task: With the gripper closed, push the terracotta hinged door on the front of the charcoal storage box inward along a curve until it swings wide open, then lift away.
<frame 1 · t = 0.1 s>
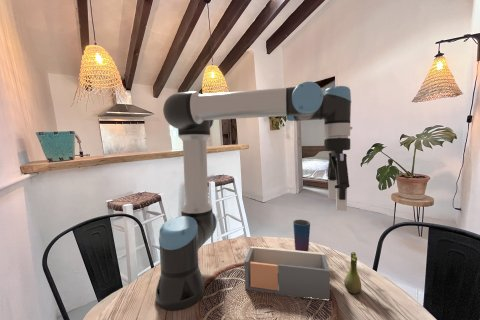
hand: (336, 204, 68), 28 cm above the table, tool pointing down, fingers open, 13 cm apart
box door: (264, 275, 69), point 5 cm above the table, hinge at 0.0°
storage box: (285, 284, 72), on the table
cup: (301, 257, 90), on the table
fennel bulb: (352, 290, 69), on the table
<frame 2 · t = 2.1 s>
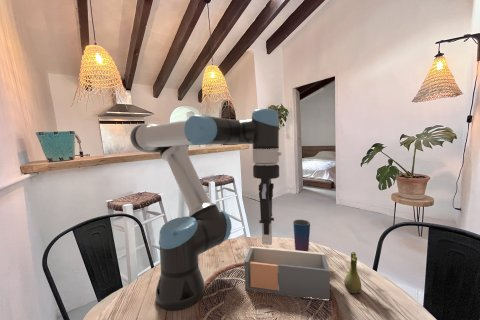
hand: (267, 243, 63), 18 cm above the table, tool pointing down, fingers closed
nothing on the table moved.
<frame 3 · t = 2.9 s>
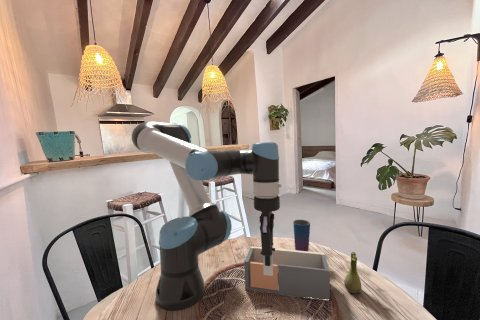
hand: (268, 273, 63), 9 cm above the table, tool pointing down, fingers closed
nothing on the table moved.
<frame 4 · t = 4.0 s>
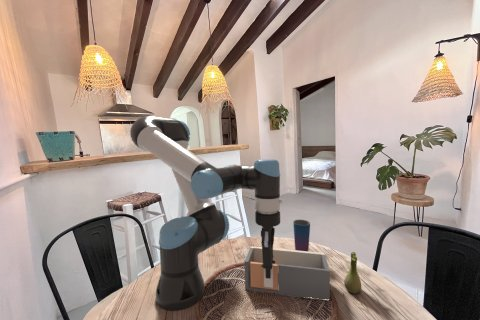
hand: (268, 285, 65), 4 cm above the table, tool pointing down, fingers closed
box door: (264, 275, 69), point 5 cm above the table, hinge at 1.1°, touching gripper
everything else where it was.
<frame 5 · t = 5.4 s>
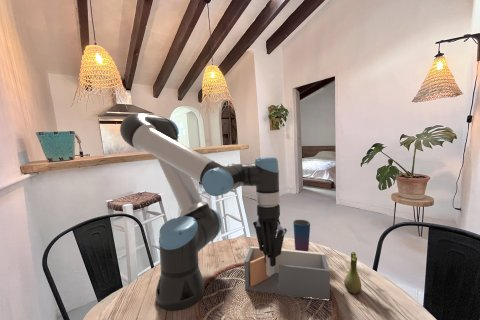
hand: (270, 273, 71), 4 cm above the table, tool pointing down, fingers closed
box door: (260, 269, 72), point 5 cm above the table, hinge at 49.5°, touching gripper
everything else where it was.
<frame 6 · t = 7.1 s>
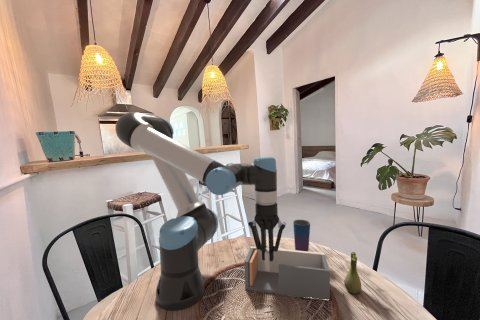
hand: (268, 269, 74), 4 cm above the table, tool pointing down, fingers closed
box door: (253, 267, 74), point 5 cm above the table, hinge at 86.7°
everything else where it was.
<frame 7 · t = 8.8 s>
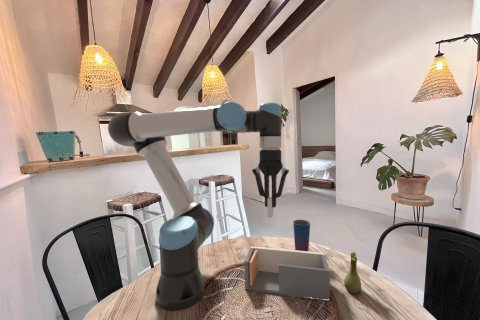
hand: (270, 215, 75), 22 cm above the table, tool pointing down, fingers closed
nothing on the table moved.
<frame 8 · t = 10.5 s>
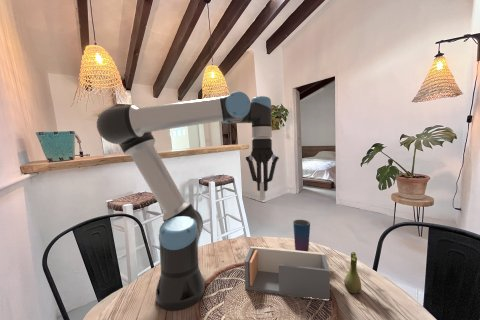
hand: (262, 199, 83), 26 cm above the table, tool pointing down, fingers closed
nothing on the table moved.
at the end: box door at +87° (first picture: +0°) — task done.
